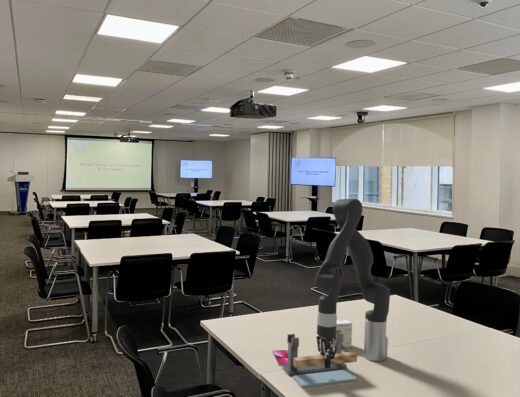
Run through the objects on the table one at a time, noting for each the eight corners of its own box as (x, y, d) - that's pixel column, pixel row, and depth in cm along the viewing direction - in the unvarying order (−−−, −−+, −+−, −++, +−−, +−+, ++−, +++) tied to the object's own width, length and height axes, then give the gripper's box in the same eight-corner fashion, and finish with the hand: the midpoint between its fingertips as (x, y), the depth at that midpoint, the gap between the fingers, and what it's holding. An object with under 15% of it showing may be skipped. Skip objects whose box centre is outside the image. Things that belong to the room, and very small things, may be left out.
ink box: (335, 348, 205) (336, 323, 205) (330, 344, 210) (331, 320, 209) (351, 347, 208) (352, 322, 207) (346, 343, 212) (347, 319, 212)
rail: (352, 358, 178) (353, 351, 178) (356, 361, 175) (356, 354, 175) (293, 365, 171) (293, 357, 170) (296, 368, 168) (296, 360, 168)
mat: (347, 371, 181) (347, 369, 181) (357, 380, 173) (357, 378, 173) (292, 377, 174) (292, 375, 174) (301, 387, 166) (301, 385, 166)
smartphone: (278, 365, 184) (271, 350, 199) (278, 367, 185) (271, 352, 199) (295, 364, 186) (287, 350, 200) (295, 366, 186) (287, 352, 201)
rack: (338, 361, 190) (339, 328, 189) (346, 368, 183) (347, 334, 183) (282, 368, 182) (283, 333, 182) (288, 375, 176) (289, 339, 175)
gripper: (344, 328, 167) (342, 372, 168) (327, 316, 180) (326, 358, 181) (326, 329, 165) (324, 375, 165) (310, 318, 178) (309, 360, 179)
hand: (325, 366), depth 173 cm, fingers closed on rail, 3 cm apart
